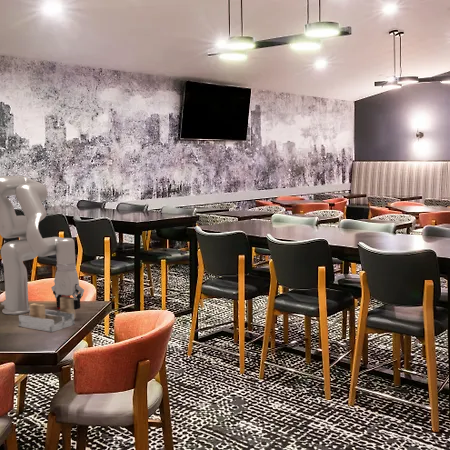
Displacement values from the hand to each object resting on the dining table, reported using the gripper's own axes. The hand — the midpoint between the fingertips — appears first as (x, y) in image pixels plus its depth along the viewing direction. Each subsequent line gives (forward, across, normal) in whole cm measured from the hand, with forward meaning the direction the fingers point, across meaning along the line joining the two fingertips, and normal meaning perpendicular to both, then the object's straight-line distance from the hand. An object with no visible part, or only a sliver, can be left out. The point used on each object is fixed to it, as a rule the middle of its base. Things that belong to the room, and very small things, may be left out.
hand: (68, 307), depth 252 cm
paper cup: (+5, -16, +13) cm, 21 cm away
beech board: (+5, -1, 0) cm, 5 cm away
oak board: (+5, -3, -15) cm, 16 cm away
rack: (+5, -1, -12) cm, 13 cm away
